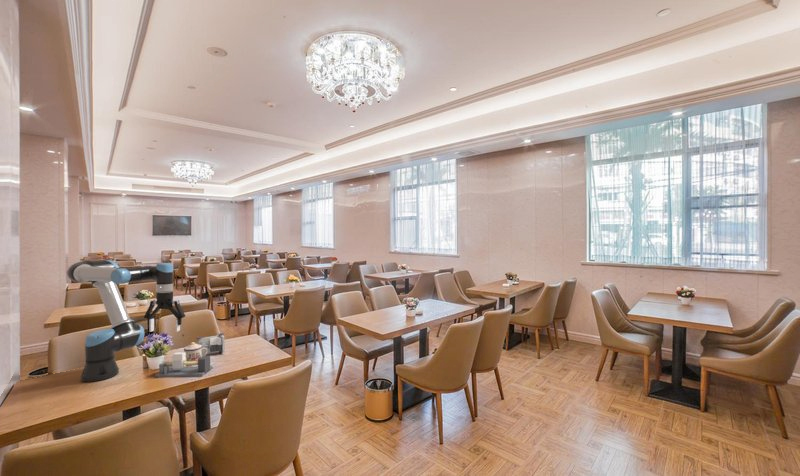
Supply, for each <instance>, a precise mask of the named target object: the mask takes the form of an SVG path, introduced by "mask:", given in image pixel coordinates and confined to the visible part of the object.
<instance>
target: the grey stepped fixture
mask: <svg viewBox="0 0 800 476" xmlns="http://www.w3.org/2000/svg"><path fill="white" fill-rule="evenodd" d="M182 364H183V365H186V366H185V367H183V368H182V369H172V361H169V360H166V361H162V362H161V363H160V364H159V365H158V367H159V369H158V373H156V374H155V378H178V377H179V378H180V377H181V378H182V377H189V378H190V377H191V378H192V377H203V376H205V375H206V374H208V373H209V372H210V371H211V370H213V369H214V366H212V365H211V355H205V356H202V357H201V358H199V359H198V361H193V362H182Z"/></svg>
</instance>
